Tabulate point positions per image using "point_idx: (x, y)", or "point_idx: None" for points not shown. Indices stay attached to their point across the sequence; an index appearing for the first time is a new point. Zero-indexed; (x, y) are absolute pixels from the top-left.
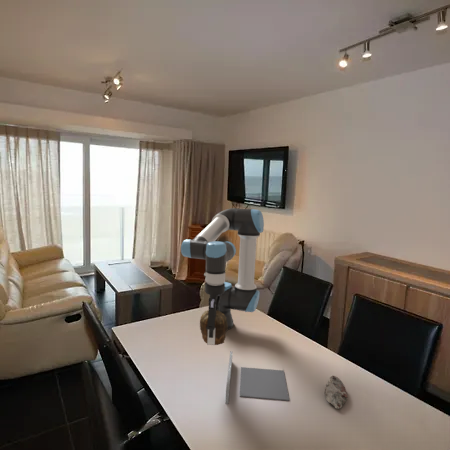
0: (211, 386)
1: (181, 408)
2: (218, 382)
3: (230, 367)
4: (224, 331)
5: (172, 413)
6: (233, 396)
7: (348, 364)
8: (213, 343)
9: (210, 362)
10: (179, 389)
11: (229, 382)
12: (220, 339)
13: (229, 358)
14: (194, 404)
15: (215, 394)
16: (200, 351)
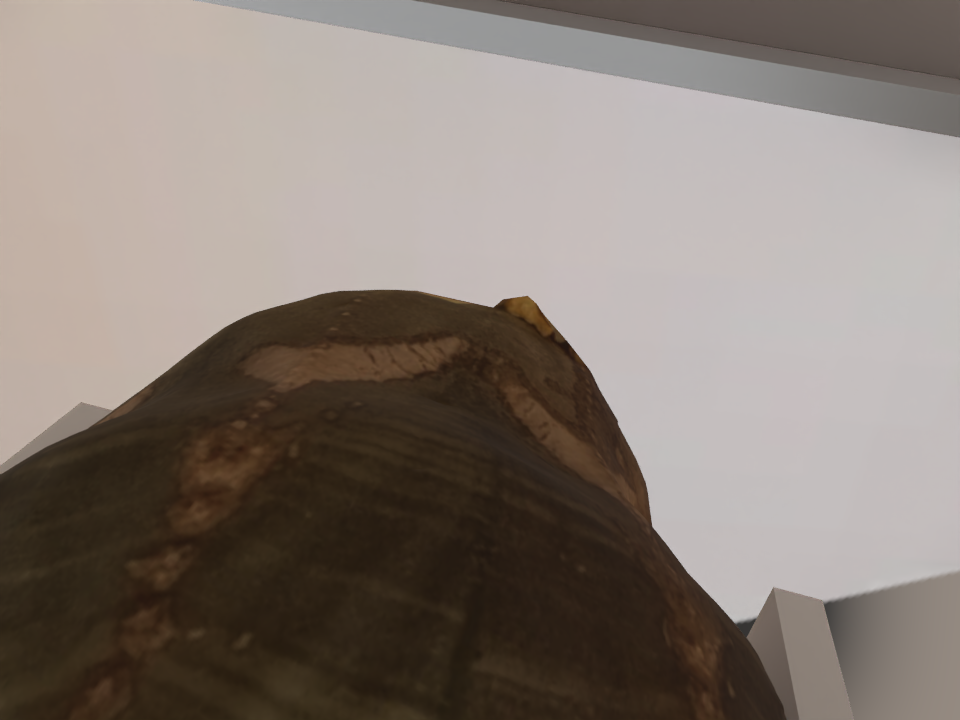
0: (661, 238)
1: (914, 500)
2: (603, 160)
3: (534, 29)
4: (677, 598)
5: (953, 559)
6: (883, 4)
7: None
8: (820, 655)
9: (263, 214)
10: (665, 497)
11: (887, 83)
12: (625, 478)
13: (317, 21)
14: (895, 406)
15: (798, 210)
16: (99, 295)
